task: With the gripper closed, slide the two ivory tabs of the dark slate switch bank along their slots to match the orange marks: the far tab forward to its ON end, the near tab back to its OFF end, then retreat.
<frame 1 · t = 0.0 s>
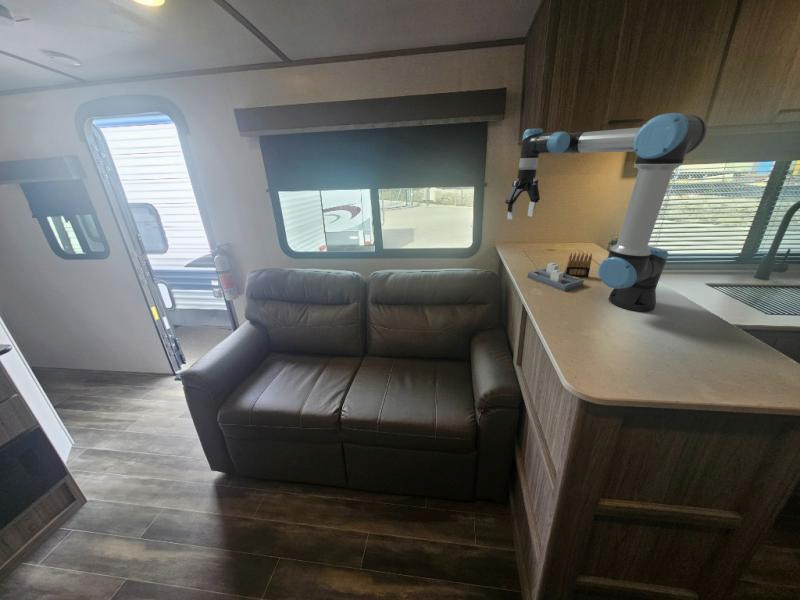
hand: (520, 217, 142), 28 cm above the table, fingers open, 13 cm apart
switch bank: (553, 281, 143), on the table
ammunition clip: (575, 276, 149), on the table
tab B: (552, 268, 146), point 4 cm above the table, slide at 4.5 cm
tab A: (556, 276, 137), point 4 cm above the table, slide at -3.0 cm
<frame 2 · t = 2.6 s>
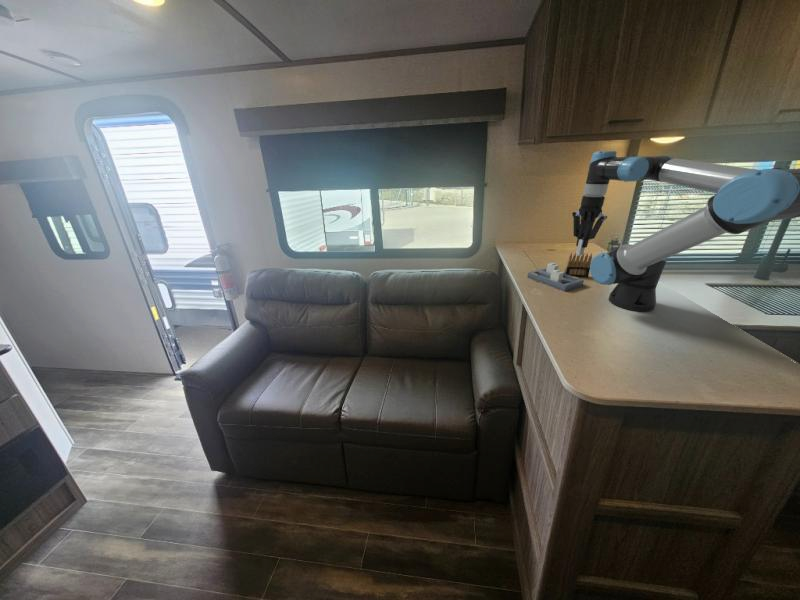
hand: (579, 254, 126), 17 cm above the table, fingers closed
nothing on the table moved.
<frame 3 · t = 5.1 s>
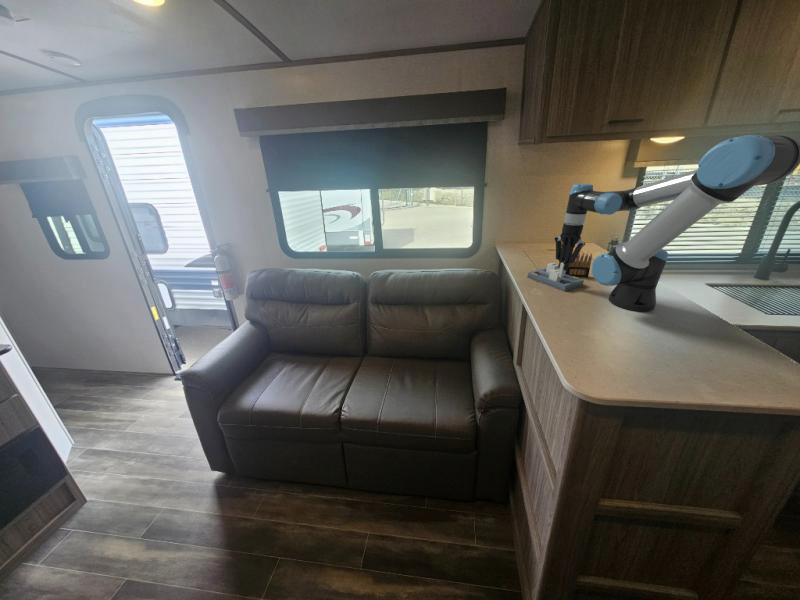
hand: (561, 276, 136), 5 cm above the table, fingers closed
tab A: (555, 275, 138), point 4 cm above the table, slide at -2.3 cm, touching gripper
everything else where it was.
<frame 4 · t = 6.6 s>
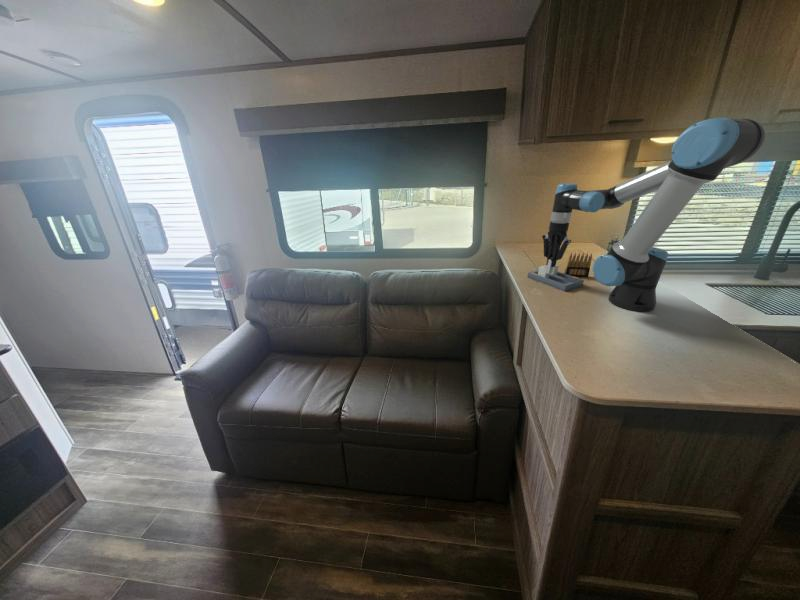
hand: (549, 272, 140), 5 cm above the table, fingers closed
tab A: (544, 271, 143), point 4 cm above the table, slide at 3.7 cm, touching gripper
everything else where it was.
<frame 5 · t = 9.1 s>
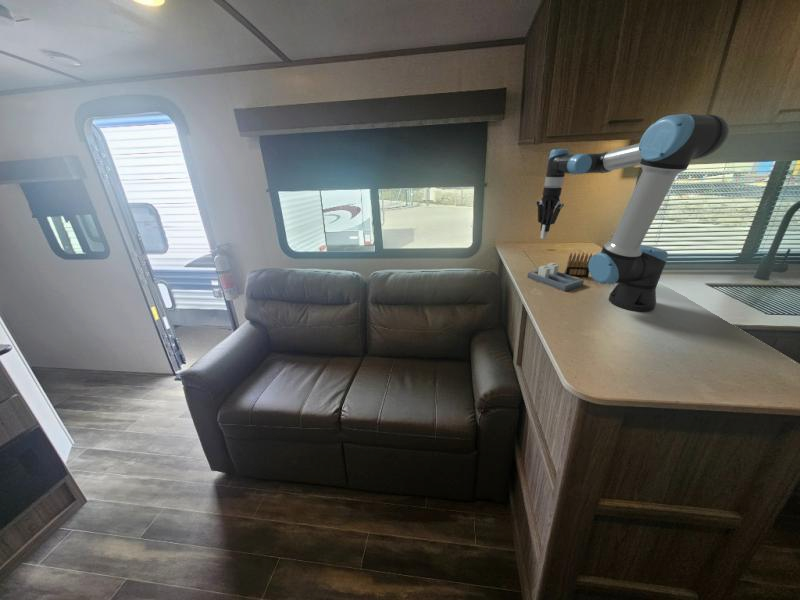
hand: (543, 237, 147), 18 cm above the table, fingers closed
tab A: (544, 271, 143), point 4 cm above the table, slide at 3.7 cm
everything else where it was.
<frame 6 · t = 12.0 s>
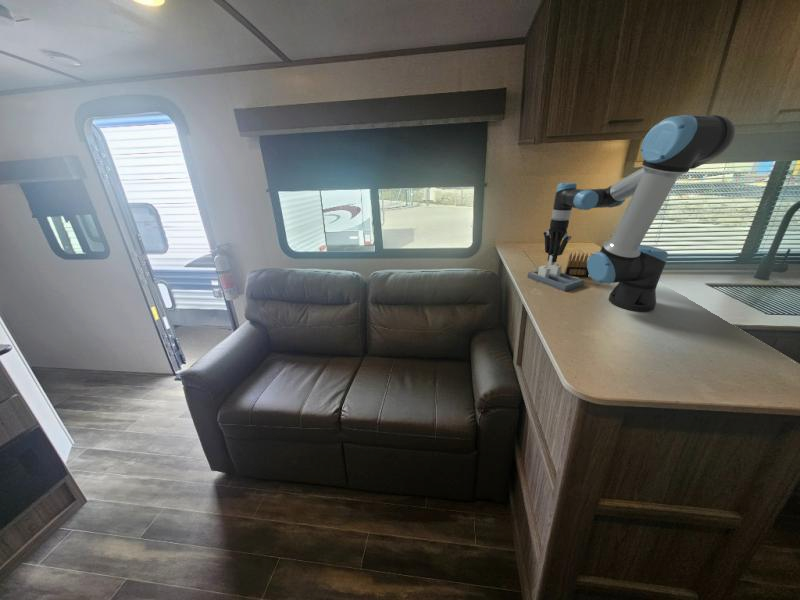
hand: (550, 268, 147), 4 cm above the table, fingers closed
tab B: (555, 269, 145), point 4 cm above the table, slide at 2.8 cm, touching gripper
everything else where it was.
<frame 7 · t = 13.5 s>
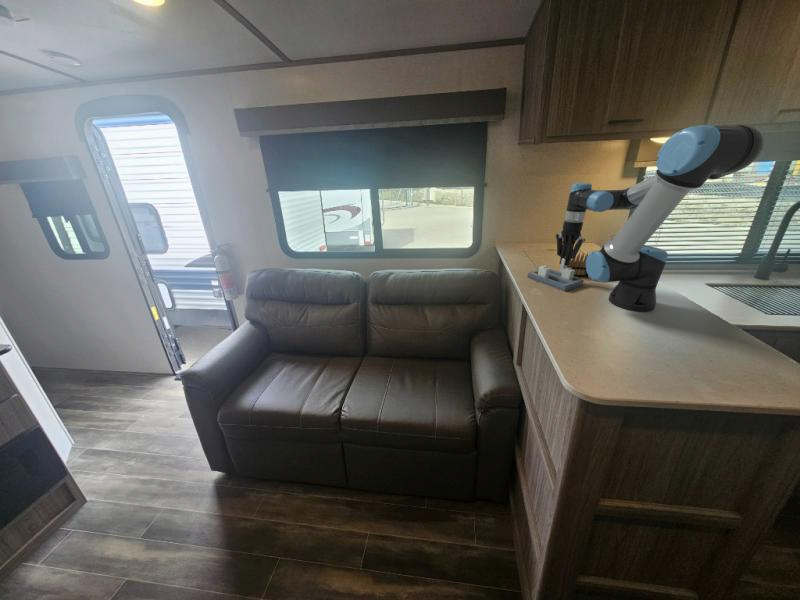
hand: (562, 271, 142), 5 cm above the table, fingers closed
tab B: (567, 273, 140), point 4 cm above the table, slide at -3.7 cm, touching gripper
everything else where it was.
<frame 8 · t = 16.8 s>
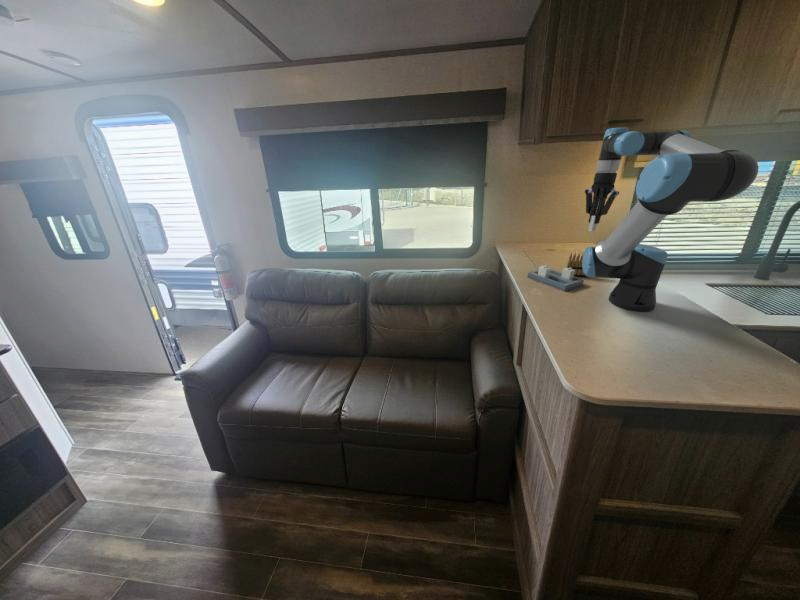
hand: (591, 230, 131), 24 cm above the table, fingers closed
tab B: (567, 273, 140), point 4 cm above the table, slide at -3.7 cm
everything else where it was.
at the end: tab A slide at 3.7 cm; tab B slide at -3.7 cm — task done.
